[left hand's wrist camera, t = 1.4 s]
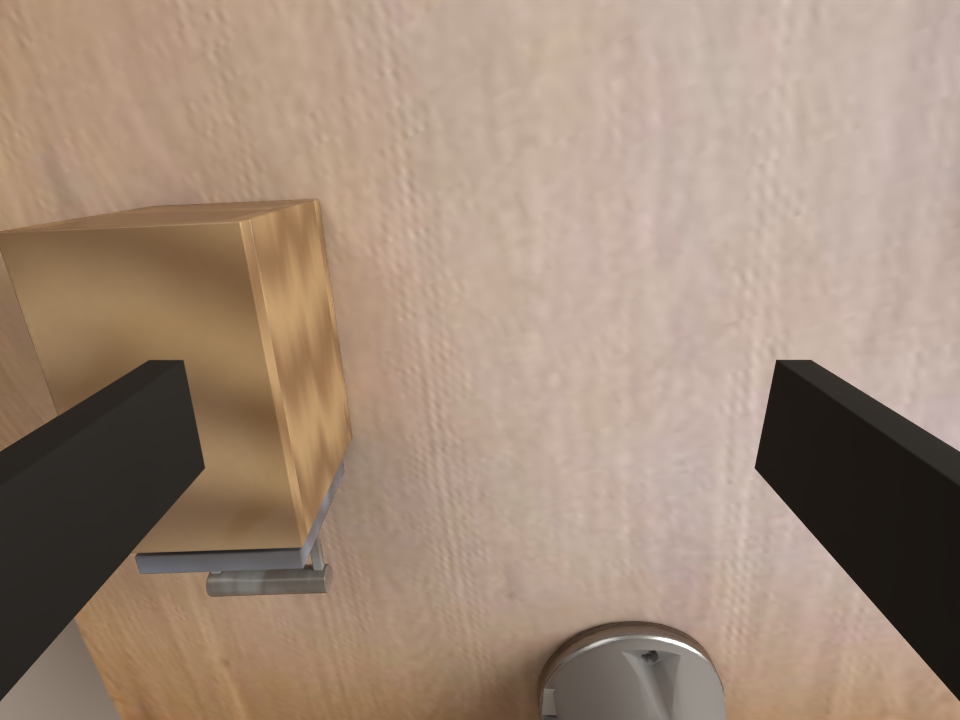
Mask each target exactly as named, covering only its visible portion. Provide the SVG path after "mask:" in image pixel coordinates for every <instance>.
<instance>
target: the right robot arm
mask: <svg viewBox="0 0 960 720" xmlns="http://www.w3.org/2000/svg"><path fill="white" fill-rule="evenodd" d="M538 704H539V713H540V720H727V717H726V706H725V697H724V690H723V686H722V682H721V680H720V678H719V675H718V673H717V671H716V669H715V667H714V664H713V662H712V660H711V658H710V656H709V655H708V653H707V652H706V650H705V649H704V648H703V647H702V646H701V645H700V644H699V643H698V642H697V641H696V640H694V639H693V638H692V637H690V636H689V635H687V634H685V633H683V632H681V631H679V630H677V629H675V628H672V627H669V626H666V625H662V624H657V623H651V622H639V621H631V622H619V623H612V624H607V625H603V626H600V627H597V628H594V629H591V630H588V631H586V632H584V633H582V634H580V635H578V636H576V637H574V638H573V639H571V640H570V641H568V642H567V643H565V644H564V645H563V646H562V647H560V648H559V649H558V650H557V651H556V652H555V653H554V654H553V655H552V657H551V658H550V659H549V660H548V662H547V663H546V665H545V667H544V669H543V670H542V673H541V675H540V678H539V683H538Z"/></svg>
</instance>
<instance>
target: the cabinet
mask: <svg viewBox="0 0 960 720" xmlns="http://www.w3.org/2000/svg"><path fill="white" fill-rule="evenodd" d="M0 250H1V253H2V256H3V259H4V262H5V265H6V267H7V270H8V273H9V276H10V279H11V282H12V285H13V288H14V290H15V293H16V296H17V299H18V302H19V305H20V308H21V311H22V313H23V316H24V319H25V322H26V325H27V328H28V331H29V334H30V336H31V339H32V342H33V345H34V348H35V351H36V354H37V357H38V359H39V362H40V365H41V368H42V371H43V374H44V377H45V380H46V382H47V385H48V388H49V391H50V394H51V397H52V400H53V402H54V405H55V408H56V411H57V414H58V416H59V415H61V414H62V413H64V412H65V411H67V410H69V409H70V408H72V407H74V406H75V405H77V404H78V403H80V402H82V401H83V400H85V399H87V398H88V397H90V396H91V395H93V394H95V393H96V392H98V391H100V390H101V389H103V388H104V387H106V386H108V385H109V384H111V383H113V382H114V381H116V380H117V379H119V378H121V377H122V376H124V375H125V374H127V373H129V372H130V371H132V370H134V369H135V368H137V367H138V366H140V365H142V364H143V363H145V362H147V361H148V360H184V364H185V369H186V374H187V379H188V384H189V389H190V394H191V399H192V404H193V409H194V414H195V419H196V424H197V429H198V434H199V439H200V444H201V449H202V454H203V459H204V464H205V469H204V470H203V471H202V472H201V474H200V475H199V476H198V477H197V478H196V479H195V480H194V482H193V483H192V484H191V485H190V486H189V487H188V488H187V490H186V491H185V492H184V493H183V494H182V495H181V496H180V497H179V499H178V500H177V501H176V502H175V503H174V504H173V505H172V507H171V508H170V509H169V510H168V511H167V512H166V513H165V515H164V516H163V517H162V518H161V519H160V520H159V521H158V522H157V524H156V525H155V526H154V527H153V528H152V529H151V530H150V532H149V533H148V534H147V535H146V536H145V537H144V538H143V540H142V541H141V542H140V543H139V544H138V545H137V546H136V547H135V549H134V550H133V551H132V552H131V553H153V552H183V551H212V550H241V549H271V548H300V547H303V545H304V543H305V541H306V538H307V536H308V533H309V531H310V529H311V527H312V525H313V522H314V520H315V518H316V516H317V513H318V511H319V509H320V507H321V505H322V502H323V500H324V498H325V496H326V494H327V491H328V489H329V487H330V485H331V483H332V480H333V478H334V476H335V474H336V471H337V469H338V467H339V465H340V463H341V460H342V458H343V456H344V454H345V452H346V449H347V447H348V445H349V443H350V440H351V438H352V432H351V425H350V418H349V411H348V404H347V397H346V390H345V382H344V375H343V368H342V361H341V354H340V347H339V340H338V333H337V326H336V318H335V311H334V304H333V297H332V290H331V283H330V276H329V269H328V261H327V254H326V247H325V240H324V233H323V226H322V219H321V212H320V205H319V200H318V199H304V200H281V201H259V202H236V203H213V204H191V205H168V206H151V207H146V208H139V209H132V210H126V211H120V212H114V213H108V214H102V215H96V216H90V217H84V218H78V219H72V220H65V221H59V222H53V223H47V224H41V225H35V226H29V227H23V228H17V229H11V230H5V231H0Z"/></svg>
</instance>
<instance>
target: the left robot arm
mask: <svg viewBox="0 0 960 720" xmlns="http://www.w3.org/2000/svg"><path fill="white" fill-rule="evenodd" d="M204 469H205V464H204V459H203V454H202V449H201V444H200V439H199V434H198V429H197V424H196V419H195V414H194V409H193V404H192V399H191V394H190V389H189V384H188V379H187V374H186V369H185V364H184V360H148V361H147V362H145V363H143V364H142V365H140V366H138V367H137V368H135V369H134V370H132V371H130V372H129V373H127V374H125V375H124V376H122V377H121V378H119V379H117V380H116V381H114V382H113V383H111V384H109V385H108V386H106V387H104V388H103V389H101V390H100V391H98V392H96V393H95V394H93V395H91V396H90V397H88V398H87V399H85V400H83V401H82V402H80V403H78V404H77V405H75V406H74V407H72V408H70V409H69V410H67V411H65V412H64V413H62V414H61V415H59V416H57V417H56V418H54V419H53V420H51V421H49V422H48V423H46V424H44V425H43V426H41V427H40V428H38V429H36V430H35V431H33V432H31V433H30V434H28V435H27V436H25V437H23V438H22V439H20V440H18V441H17V442H15V443H14V444H12V445H10V446H9V447H7V448H6V449H4V450H2V451H1V452H0V701H1V700H2V699H3V697H4V696H5V695H6V694H7V693H8V692H9V691H10V690H11V688H12V687H13V686H14V685H15V684H16V683H17V682H18V680H19V679H20V678H21V677H22V676H23V675H24V674H25V673H26V671H27V670H28V669H29V668H30V667H31V666H32V665H33V663H34V662H35V661H36V660H37V659H38V658H39V657H40V655H41V654H42V653H43V652H44V651H45V650H46V649H47V648H48V646H49V645H50V644H51V643H52V642H53V641H54V640H55V638H56V637H57V636H58V635H59V634H60V633H61V632H62V630H63V629H64V628H65V627H66V626H67V625H68V624H69V623H70V621H71V620H72V619H73V618H74V617H75V616H76V615H77V613H78V612H79V611H80V610H81V609H82V608H83V607H84V605H85V604H86V603H87V602H88V601H89V600H90V599H91V598H92V596H93V595H94V594H95V593H96V592H97V591H98V590H99V588H100V587H101V586H102V585H103V584H104V583H105V582H106V580H107V579H108V578H109V577H110V576H111V575H112V574H113V573H114V571H115V570H116V569H117V568H118V567H119V566H120V565H121V563H122V562H123V561H124V560H125V559H126V558H127V557H128V555H129V554H130V553H131V552H132V551H133V550H134V549H135V547H136V546H137V545H138V544H139V543H140V542H141V541H142V540H143V538H144V537H145V536H146V535H147V534H148V533H149V532H150V530H151V529H152V528H153V527H154V526H155V525H156V524H157V522H158V521H159V520H160V519H161V518H162V517H163V516H164V515H165V513H166V512H167V511H168V510H169V509H170V508H171V507H172V505H173V504H174V503H175V502H176V501H177V500H178V499H179V497H180V496H181V495H182V494H183V493H184V492H185V491H186V490H187V488H188V487H189V486H190V485H191V484H192V483H193V482H194V480H195V479H196V478H197V477H198V476H199V475H200V474H201V472H202V471H203V470H204ZM755 469H756V470H757V471H758V472H759V474H760V475H761V476H762V477H763V478H764V479H765V480H766V482H767V483H768V484H769V485H770V486H771V487H772V488H773V490H774V491H775V492H776V493H777V494H778V495H779V496H780V497H781V499H782V500H783V501H784V502H785V503H786V504H787V505H788V507H789V508H790V509H791V510H792V511H793V512H794V513H795V515H796V516H797V517H798V518H799V519H800V520H801V521H802V522H803V524H804V525H805V526H806V527H807V528H808V529H809V530H810V532H811V533H812V534H813V535H814V536H815V537H816V538H817V540H818V541H819V542H820V543H821V544H822V545H823V546H824V547H825V549H826V550H827V551H828V552H829V553H830V554H831V555H832V557H833V558H834V559H835V560H836V561H837V562H838V563H839V565H840V566H841V567H842V568H843V569H844V570H845V571H846V573H847V574H848V575H849V576H850V577H851V578H852V579H853V580H854V582H855V583H856V584H857V585H858V586H859V587H860V588H861V590H862V591H863V592H864V593H865V594H866V595H867V596H868V598H869V599H870V600H871V601H872V602H873V603H874V604H875V605H876V607H877V608H878V609H879V610H880V611H881V612H882V613H883V615H884V616H885V617H886V618H887V619H888V620H889V621H890V623H891V624H892V625H893V626H894V627H895V628H896V629H897V630H898V632H899V633H900V634H901V635H902V636H903V637H904V638H905V640H906V641H907V642H908V643H909V644H910V645H911V646H912V648H913V649H914V650H915V651H916V652H917V653H918V654H919V655H920V657H921V658H922V659H923V660H924V661H925V662H926V663H927V665H928V666H929V667H930V668H931V669H932V670H933V671H934V673H935V674H936V675H937V676H938V677H939V678H940V679H941V681H942V682H943V683H944V684H945V685H946V686H947V687H948V688H949V690H950V691H951V692H952V693H953V694H954V695H955V696H956V698H957V699H958V700H959V701H960V452H959V451H958V450H956V449H954V448H953V447H951V446H950V445H948V444H946V443H945V442H943V441H942V440H940V439H938V438H937V437H935V436H933V435H932V434H930V433H929V432H927V431H925V430H924V429H922V428H920V427H919V426H917V425H916V424H914V423H912V422H911V421H909V420H907V419H906V418H904V417H903V416H901V415H899V414H898V413H896V412H895V411H893V410H891V409H890V408H888V407H886V406H885V405H883V404H882V403H880V402H878V401H877V400H875V399H873V398H872V397H870V396H869V395H867V394H865V393H864V392H862V391H860V390H859V389H857V388H856V387H854V386H852V385H851V384H849V383H847V382H846V381H844V380H843V379H841V378H839V377H838V376H836V375H835V374H833V373H831V372H830V371H828V370H826V369H825V368H823V367H822V366H820V365H818V364H817V363H815V362H813V361H812V360H776V364H775V369H774V374H773V379H772V384H771V389H770V394H769V399H768V404H767V409H766V414H765V419H764V424H763V429H762V434H761V439H760V444H759V449H758V454H757V459H756V464H755Z"/></svg>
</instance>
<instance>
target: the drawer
mask: <svg viewBox="0 0 960 720" xmlns="http://www.w3.org/2000/svg"><path fill="white" fill-rule="evenodd" d="M343 474H344V465H343V459H342V460H341V463H340V465H339V467H338V469H337V471H336V474H335V476H334V478H333V480H332V483H331V485H330V487H329V489H328V491H327V494H326V496H325V498H324V500H323V502H322V505H321V507H320V509H319V511H318V513H317V516H316V518H315V520H314V522H313V525H312V527H311V529H310V531H309V533H308V536H307V538H306V541H305V543H304V545H303V547H300V548H271V549H241V550H212V551H183V552H153V553H138V554H137V555H136V556H135V559H136V562H137V565H138V569H139V572H140V574H155V573H185V572H210V573H209V575H208V578H207V585H206V588H207V593H208V595H209V596H211V597H217V596H247V595H278V594H308V593H328V592H329V590H330V588H331V584H332V568H331V565H330V564H325V563H324V557H323V551H322V546H321V540H320V534H319V530H320V528H321V526H322V523H323V521H324V519H325V516H326V514H327V512H328V509H329V507H330V505H331V502H332V500H333V497H334V495H335V493H336V490H337V488H338V486H339V483H340V481H341V479H342V476H343ZM310 553H311V559H312V564H308V565H305V563H306V561H307V558H308V556H309V554H310Z"/></svg>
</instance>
